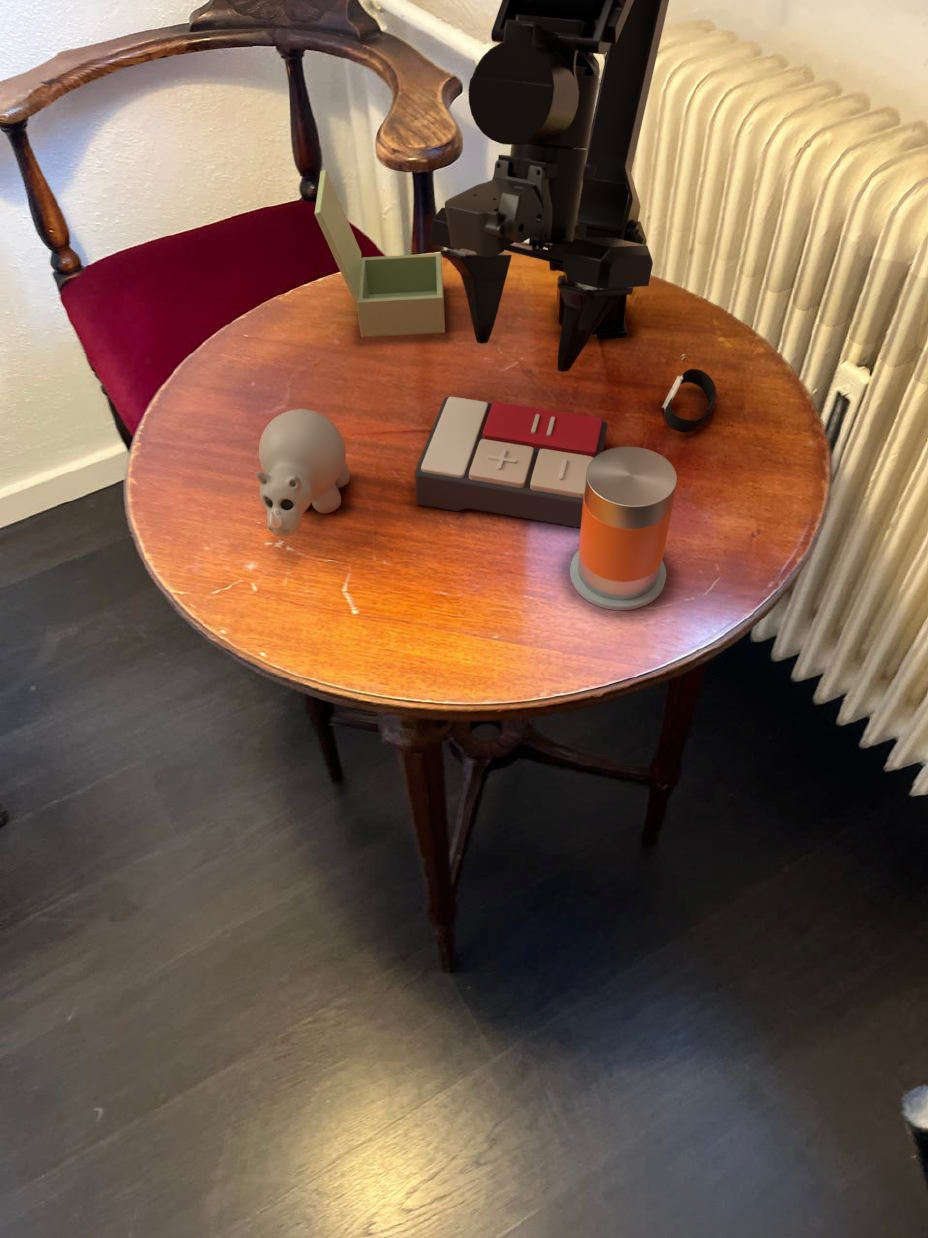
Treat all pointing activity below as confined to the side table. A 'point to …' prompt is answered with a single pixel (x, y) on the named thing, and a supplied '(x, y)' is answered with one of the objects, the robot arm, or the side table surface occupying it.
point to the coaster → (612, 603)
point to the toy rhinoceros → (300, 468)
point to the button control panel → (508, 460)
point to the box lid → (338, 233)
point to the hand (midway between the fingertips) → (521, 356)
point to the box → (401, 295)
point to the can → (625, 521)
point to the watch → (687, 377)
